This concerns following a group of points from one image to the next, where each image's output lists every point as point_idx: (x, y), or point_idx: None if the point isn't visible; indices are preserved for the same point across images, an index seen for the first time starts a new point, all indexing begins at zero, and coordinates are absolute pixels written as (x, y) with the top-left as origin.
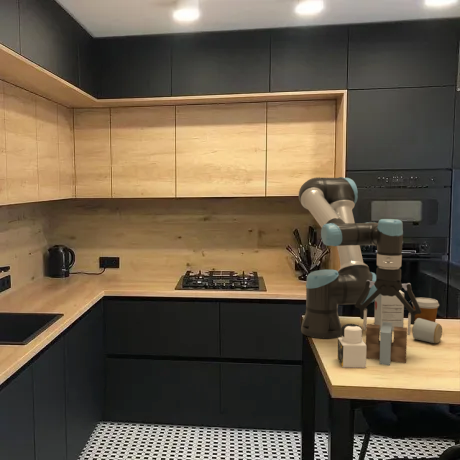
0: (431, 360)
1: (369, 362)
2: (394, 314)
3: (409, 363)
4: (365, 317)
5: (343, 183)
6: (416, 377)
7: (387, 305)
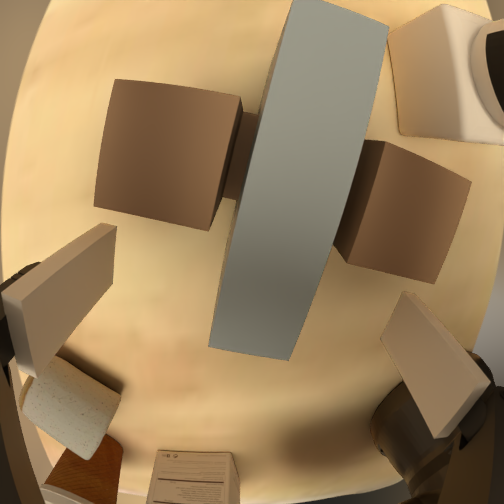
0: (68, 172)
1: None
2: (178, 497)
3: None
4: (450, 343)
5: None
6: None
7: None
